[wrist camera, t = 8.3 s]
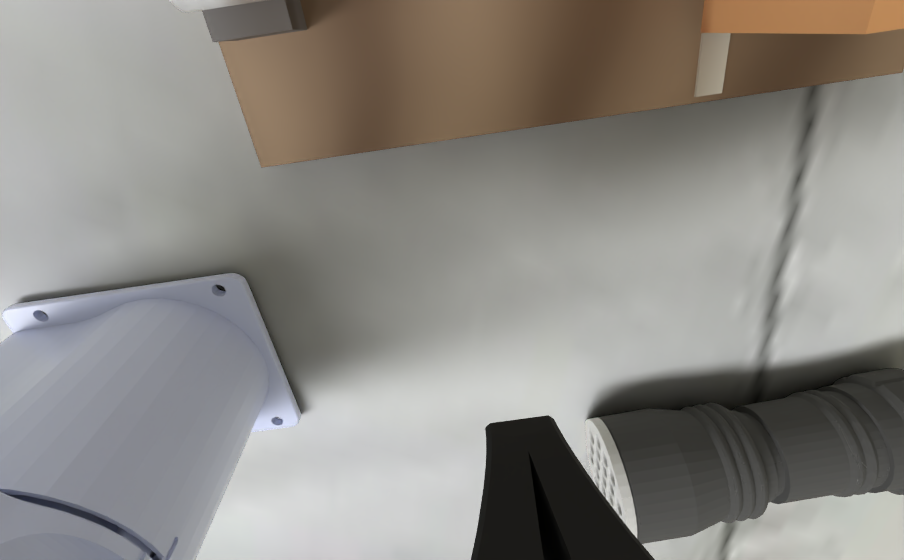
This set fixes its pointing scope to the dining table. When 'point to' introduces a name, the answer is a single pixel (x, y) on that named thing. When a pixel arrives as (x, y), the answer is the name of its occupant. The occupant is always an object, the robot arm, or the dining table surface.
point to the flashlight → (748, 455)
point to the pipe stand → (495, 66)
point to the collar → (802, 16)
